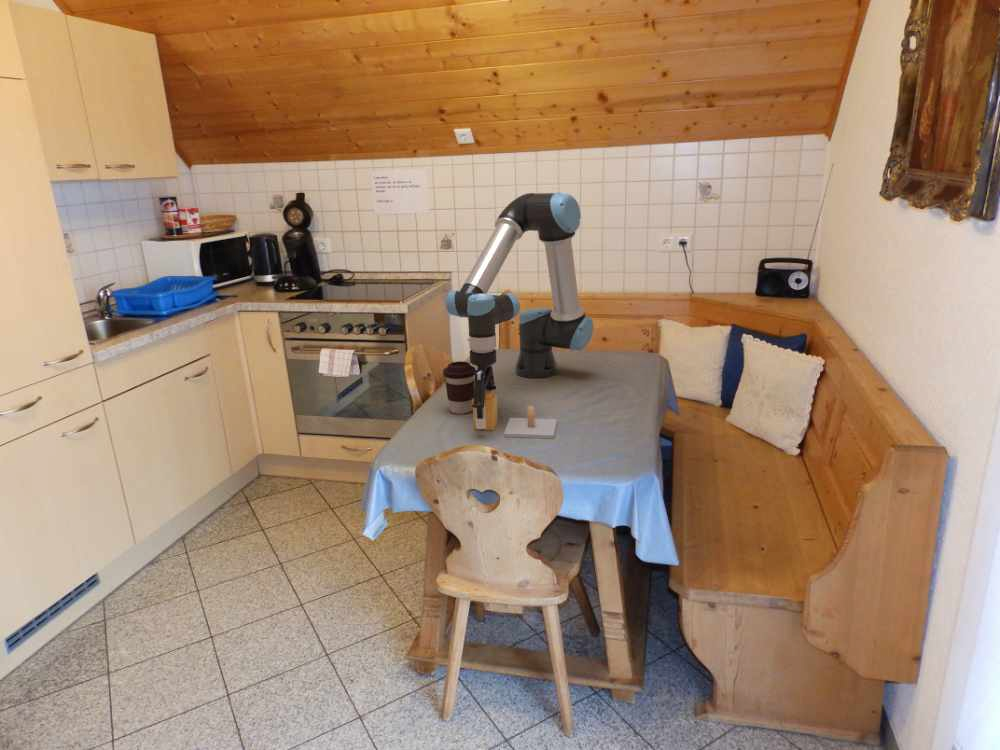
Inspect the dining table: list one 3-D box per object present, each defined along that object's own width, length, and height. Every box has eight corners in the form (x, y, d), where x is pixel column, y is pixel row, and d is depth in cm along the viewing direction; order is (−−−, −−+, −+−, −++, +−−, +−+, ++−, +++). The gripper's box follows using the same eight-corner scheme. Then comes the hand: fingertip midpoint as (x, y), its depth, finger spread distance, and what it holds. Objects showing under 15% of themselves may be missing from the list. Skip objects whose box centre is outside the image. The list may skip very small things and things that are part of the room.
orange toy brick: (477, 421, 201) (476, 389, 198) (497, 422, 200) (496, 389, 197) (473, 429, 195) (472, 396, 192) (494, 430, 194) (493, 397, 191)
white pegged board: (510, 420, 201) (509, 398, 199) (557, 422, 198) (557, 400, 196) (503, 436, 190) (503, 413, 187) (553, 438, 187) (553, 415, 185)
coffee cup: (453, 418, 204) (450, 371, 200) (440, 408, 213) (437, 363, 208) (482, 412, 208) (480, 365, 204) (469, 402, 217) (466, 357, 212)
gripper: (478, 337, 203) (480, 404, 209) (460, 361, 179) (463, 435, 186) (502, 338, 201) (504, 404, 208) (487, 362, 178) (490, 436, 185)
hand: (485, 419), depth 197 cm, fingers open, 13 cm apart
